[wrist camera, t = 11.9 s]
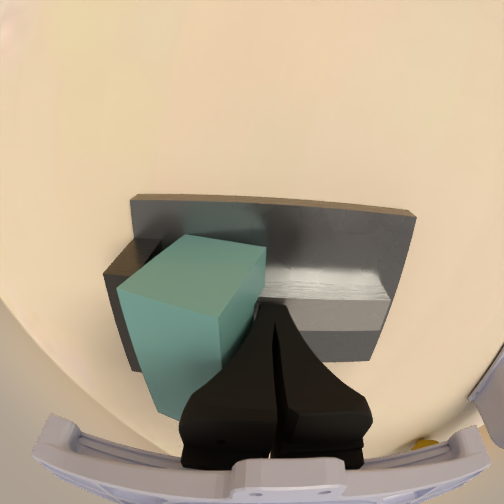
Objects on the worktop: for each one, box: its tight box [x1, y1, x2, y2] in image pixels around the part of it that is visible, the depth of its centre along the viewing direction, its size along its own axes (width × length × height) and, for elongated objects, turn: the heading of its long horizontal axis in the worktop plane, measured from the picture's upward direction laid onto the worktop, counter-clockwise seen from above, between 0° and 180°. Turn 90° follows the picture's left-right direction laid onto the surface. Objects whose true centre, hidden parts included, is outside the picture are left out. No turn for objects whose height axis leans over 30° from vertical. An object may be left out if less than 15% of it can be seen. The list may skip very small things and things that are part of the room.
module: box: [116, 234, 266, 421], centre depth 13 cm, size 4×8×5 cm, turn 179°
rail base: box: [103, 194, 417, 372], centre depth 14 cm, size 14×10×4 cm
